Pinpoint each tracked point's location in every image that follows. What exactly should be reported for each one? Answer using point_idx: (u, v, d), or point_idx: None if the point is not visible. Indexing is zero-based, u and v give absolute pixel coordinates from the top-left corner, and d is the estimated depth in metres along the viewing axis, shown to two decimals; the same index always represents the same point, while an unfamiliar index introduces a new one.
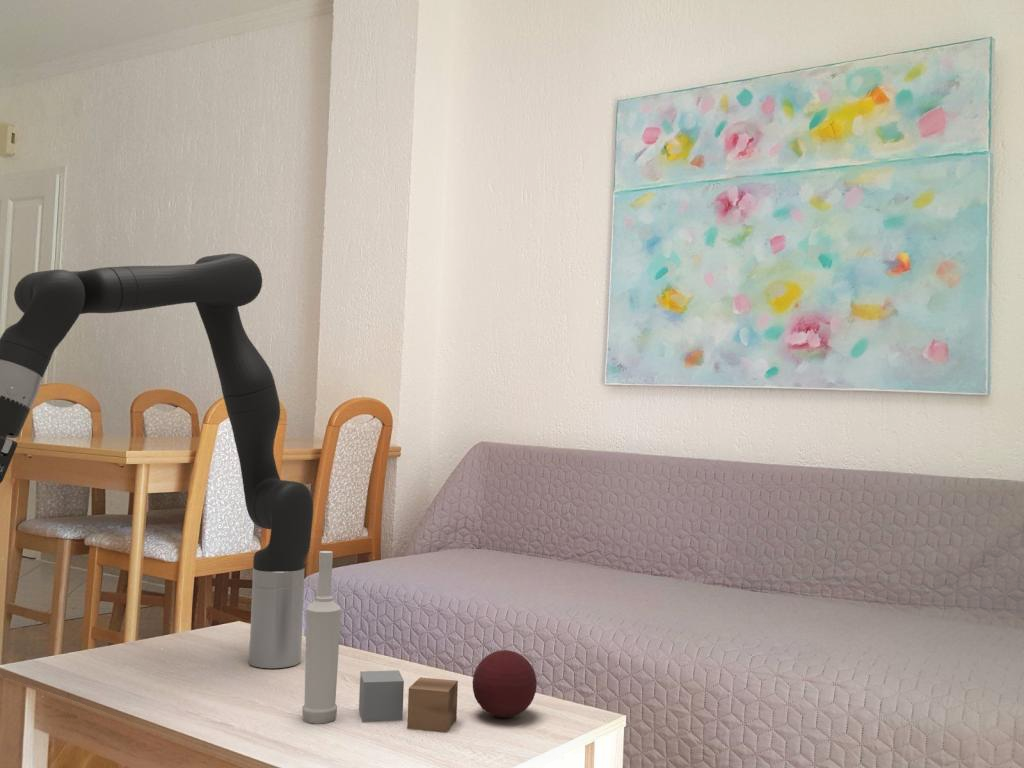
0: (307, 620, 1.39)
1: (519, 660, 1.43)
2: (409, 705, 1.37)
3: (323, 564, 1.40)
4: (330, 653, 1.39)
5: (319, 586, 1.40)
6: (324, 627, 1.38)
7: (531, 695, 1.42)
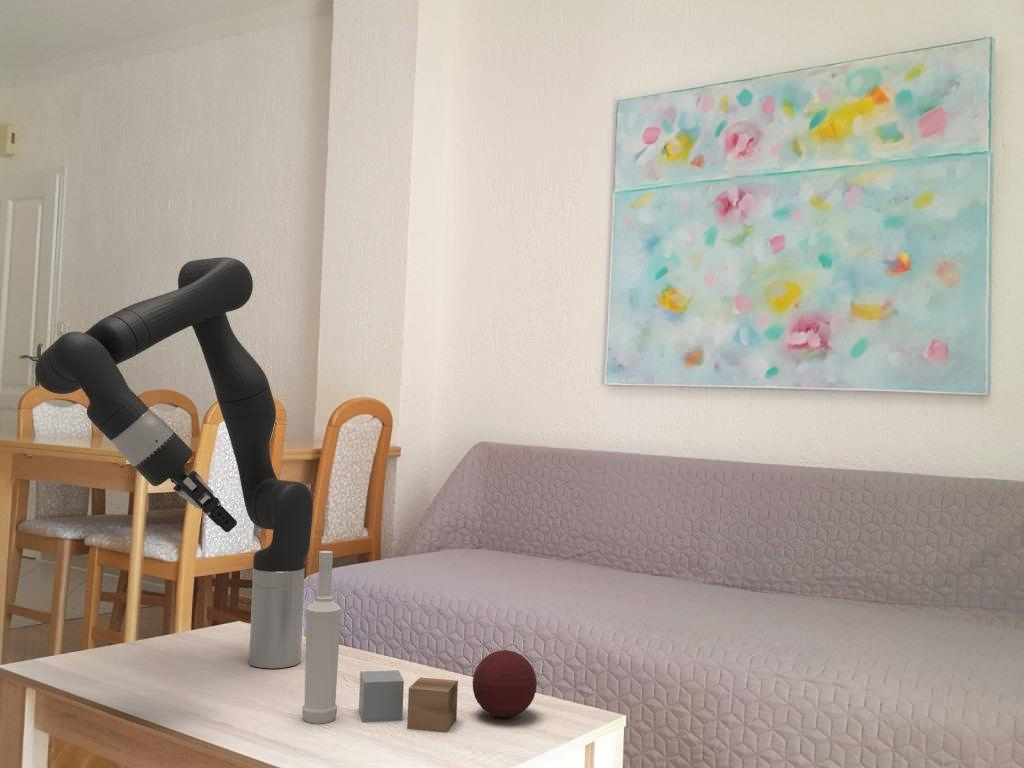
0: (307, 620, 1.39)
1: (519, 660, 1.43)
2: (409, 705, 1.37)
3: (323, 564, 1.40)
4: (330, 653, 1.39)
5: (319, 586, 1.40)
6: (324, 627, 1.38)
7: (531, 695, 1.42)
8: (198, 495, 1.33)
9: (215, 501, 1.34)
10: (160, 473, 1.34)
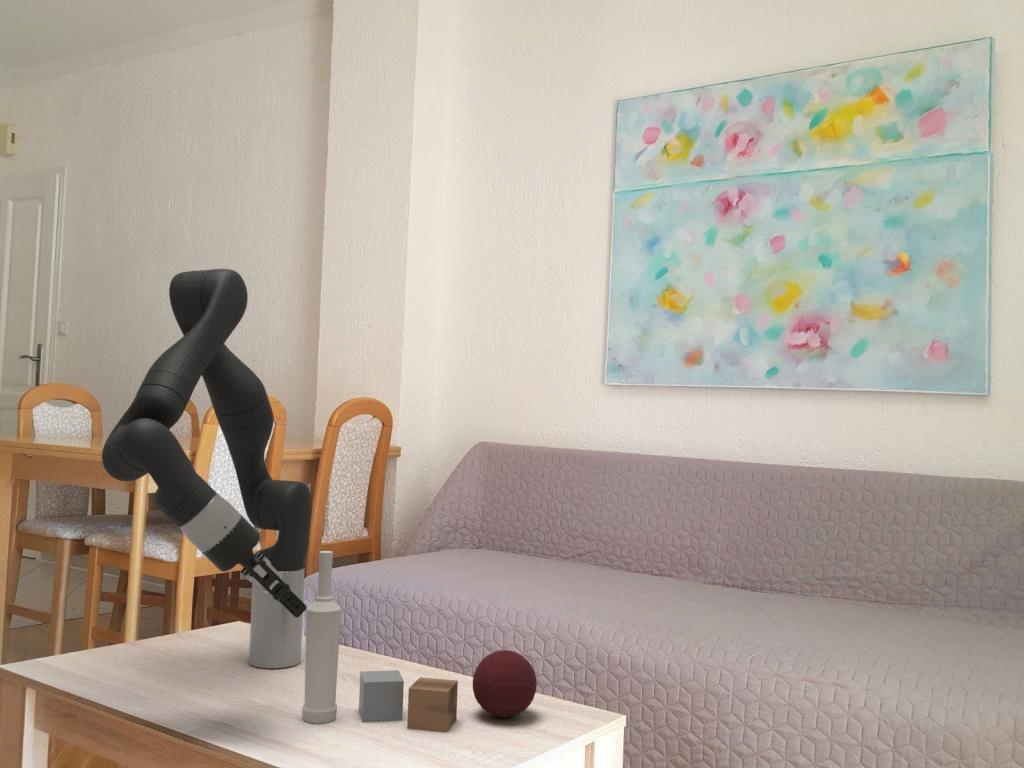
0: (307, 620, 1.39)
1: (519, 660, 1.43)
2: (409, 705, 1.37)
3: (323, 564, 1.40)
4: (330, 652, 1.39)
5: (319, 586, 1.40)
6: (324, 627, 1.38)
7: (531, 695, 1.42)
8: (269, 583, 1.30)
9: (286, 588, 1.31)
10: (229, 559, 1.32)
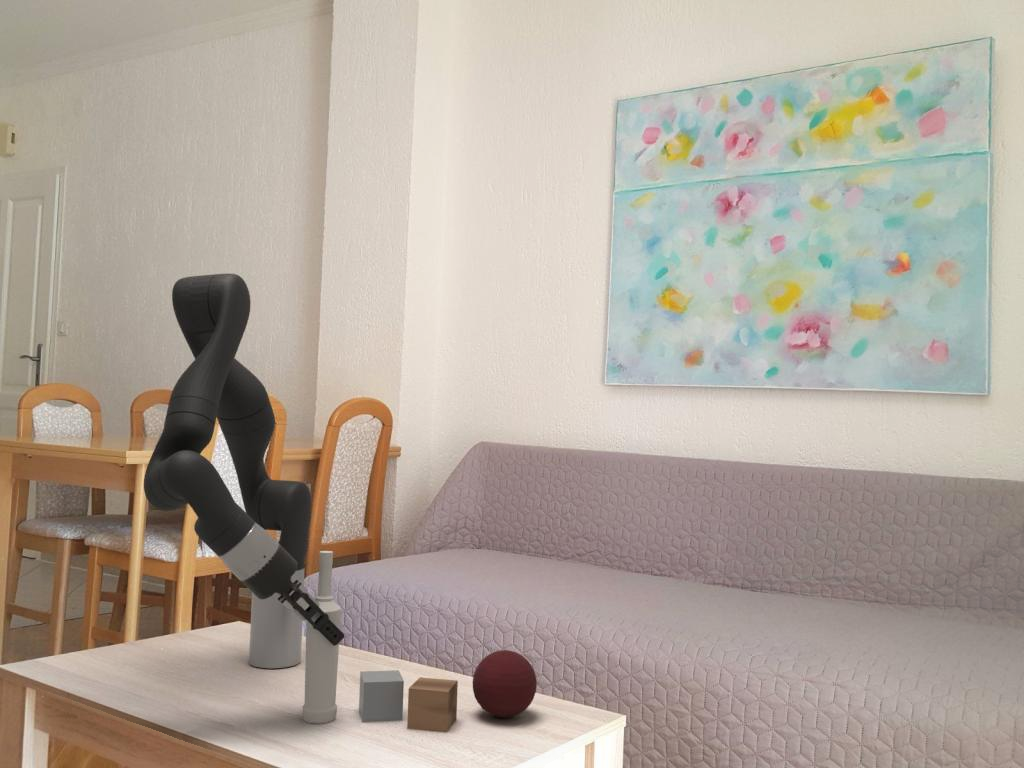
0: None
1: (519, 660, 1.43)
2: (409, 705, 1.37)
3: (323, 564, 1.40)
4: (330, 652, 1.39)
5: (319, 586, 1.40)
6: None
7: (531, 695, 1.42)
8: (311, 615, 1.34)
9: (326, 618, 1.35)
10: (268, 588, 1.34)
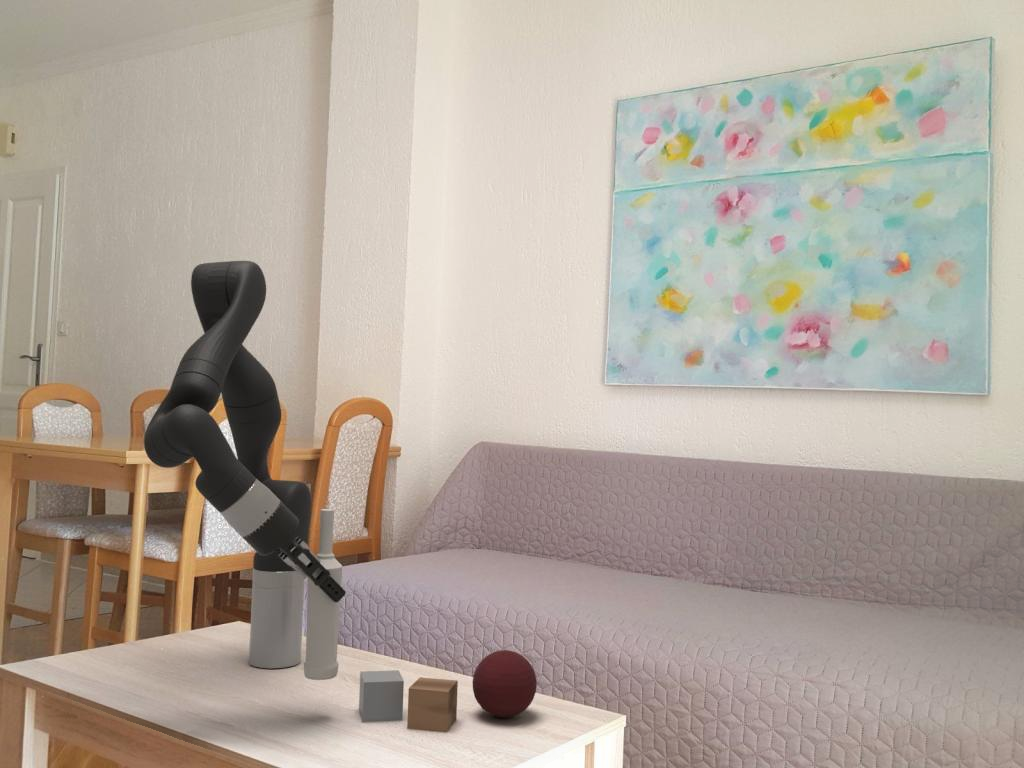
0: (308, 577, 1.40)
1: (519, 660, 1.43)
2: (409, 705, 1.37)
3: (324, 522, 1.40)
4: (332, 610, 1.39)
5: (320, 544, 1.40)
6: None
7: (531, 695, 1.42)
8: (312, 571, 1.34)
9: (327, 574, 1.35)
10: (269, 543, 1.34)
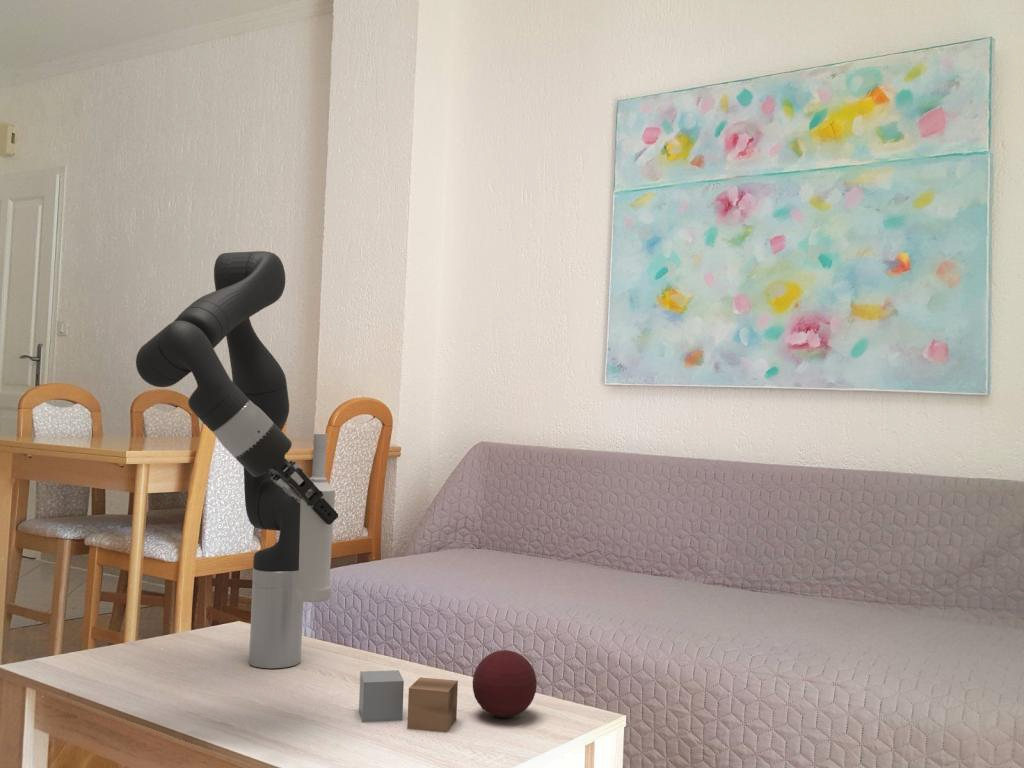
0: (301, 500, 1.40)
1: (519, 660, 1.43)
2: (409, 705, 1.37)
3: (317, 445, 1.40)
4: (324, 532, 1.39)
5: (313, 467, 1.41)
6: None
7: (531, 695, 1.42)
8: (305, 490, 1.34)
9: (320, 495, 1.36)
10: (262, 463, 1.34)
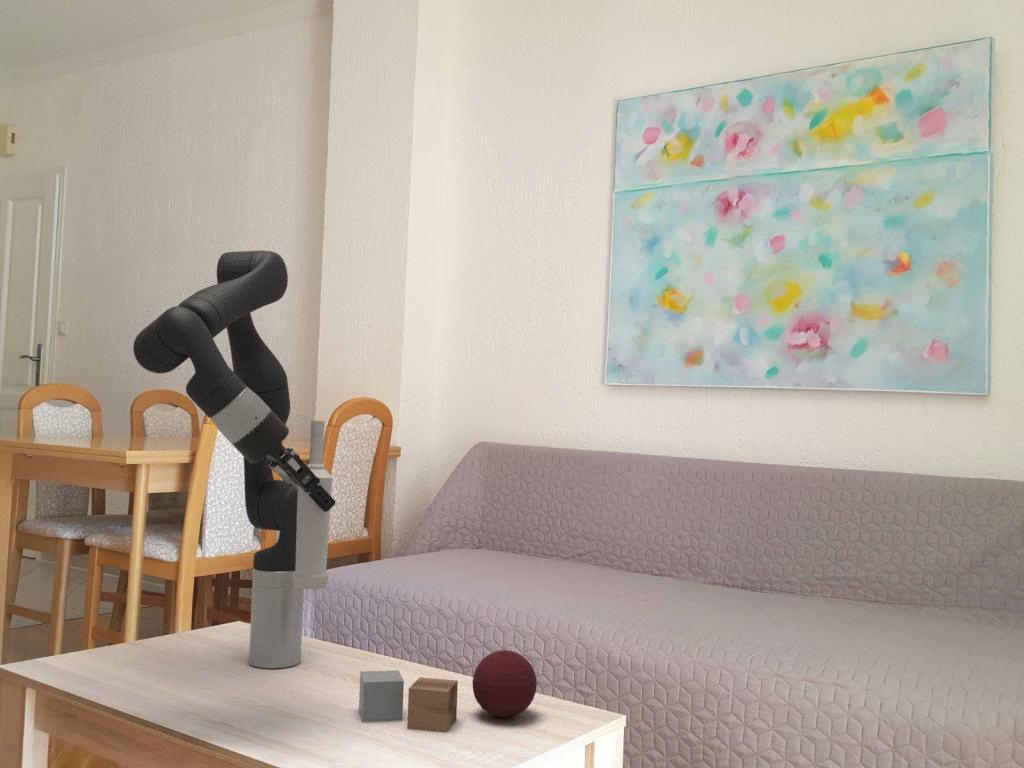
0: (298, 487, 1.40)
1: (519, 660, 1.43)
2: (409, 705, 1.37)
3: (315, 432, 1.41)
4: (321, 519, 1.39)
5: (311, 454, 1.41)
6: None
7: (531, 695, 1.42)
8: (302, 476, 1.34)
9: (317, 481, 1.36)
10: (259, 449, 1.35)
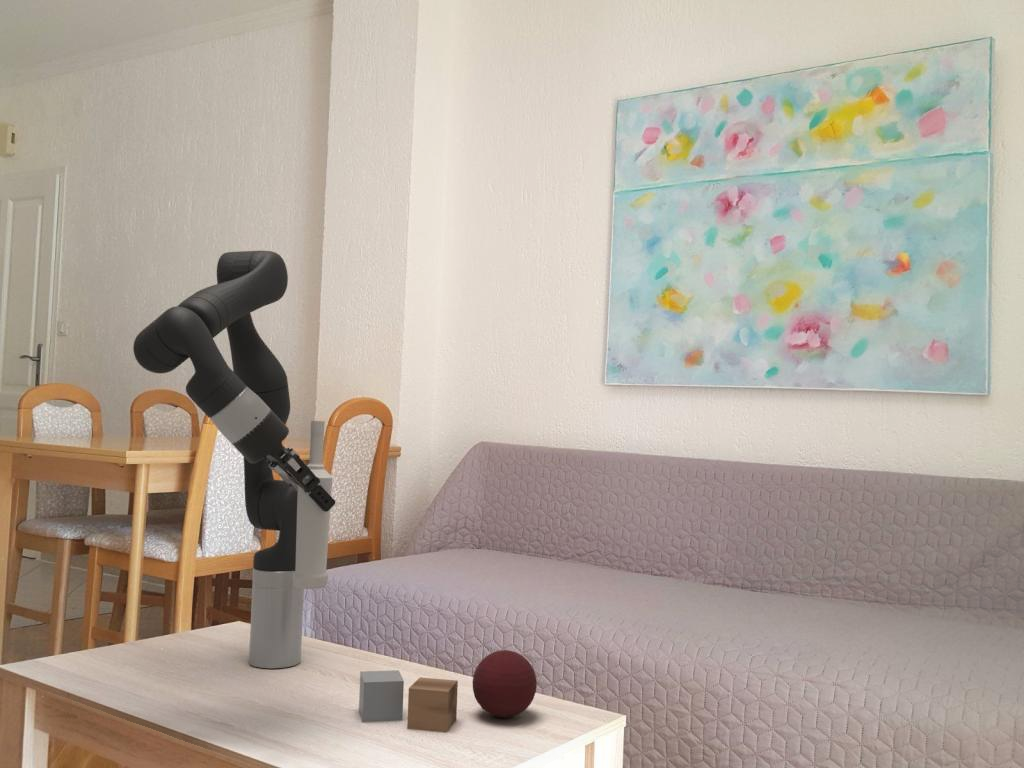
0: (298, 487, 1.40)
1: (519, 660, 1.43)
2: (409, 705, 1.37)
3: (315, 432, 1.41)
4: (321, 519, 1.39)
5: (311, 454, 1.41)
6: None
7: (531, 695, 1.42)
8: (302, 476, 1.34)
9: (317, 481, 1.36)
10: (259, 449, 1.35)
